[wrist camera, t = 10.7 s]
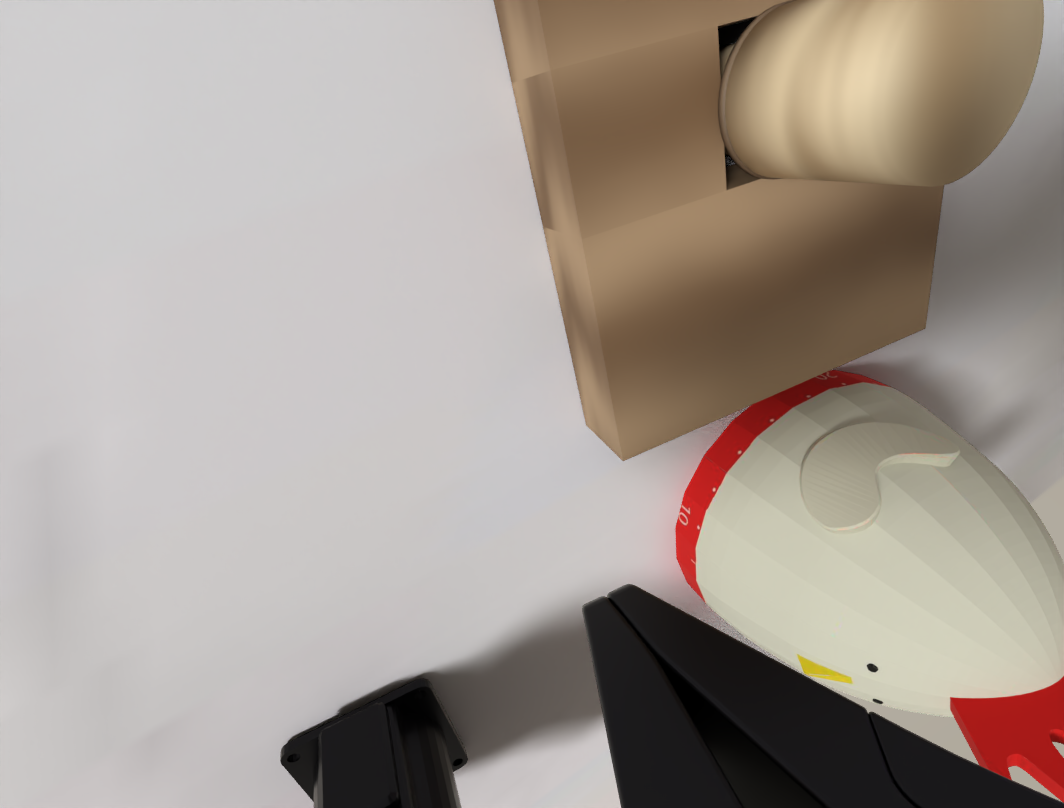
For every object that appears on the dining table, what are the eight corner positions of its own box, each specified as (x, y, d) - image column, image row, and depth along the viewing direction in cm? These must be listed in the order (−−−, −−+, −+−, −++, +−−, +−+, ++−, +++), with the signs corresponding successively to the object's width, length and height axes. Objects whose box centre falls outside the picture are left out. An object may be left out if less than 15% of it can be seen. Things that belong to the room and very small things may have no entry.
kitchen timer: (639, 474, 24) (1012, 837, 11) (883, 316, 26) (1457, 481, 13) (713, 642, 31) (992, 981, 19) (900, 511, 33) (1278, 742, 20)
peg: (774, 7, 18) (1067, -82, 11) (776, 156, 20) (1020, 159, 13) (654, 39, 17) (892, -38, 10) (669, 191, 19) (873, 213, 12)
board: (861, 310, 25) (925, 328, 22) (586, 424, 22) (623, 461, 19) (894, -168, 17) (997, -224, 14) (474, -88, 14) (511, -141, 12)
